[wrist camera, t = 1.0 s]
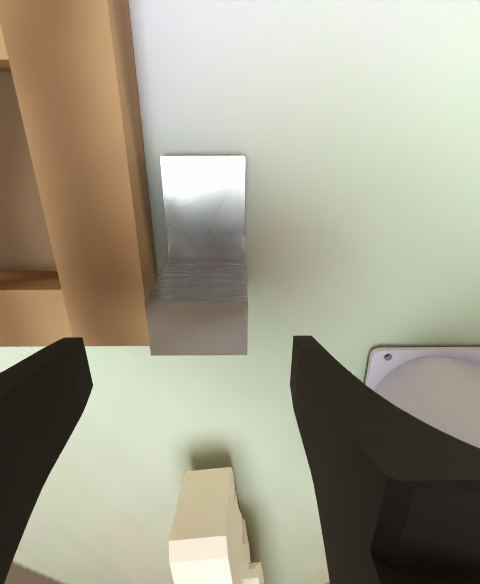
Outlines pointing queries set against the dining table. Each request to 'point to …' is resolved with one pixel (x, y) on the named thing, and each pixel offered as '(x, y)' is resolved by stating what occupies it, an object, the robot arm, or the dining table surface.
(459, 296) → the dining table surface
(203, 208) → the steel bracket
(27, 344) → the oak well block
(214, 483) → the shelf bracket
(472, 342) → the dining table surface
